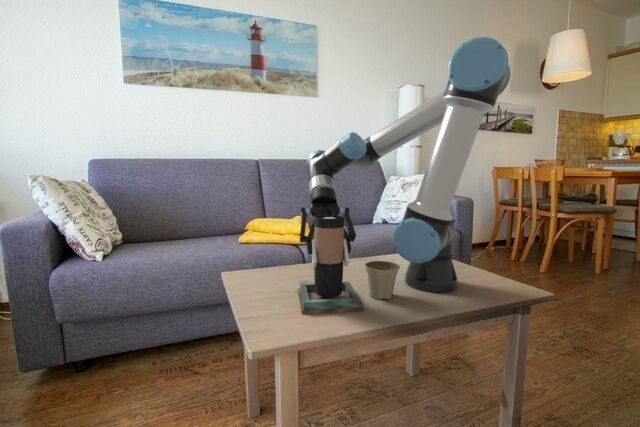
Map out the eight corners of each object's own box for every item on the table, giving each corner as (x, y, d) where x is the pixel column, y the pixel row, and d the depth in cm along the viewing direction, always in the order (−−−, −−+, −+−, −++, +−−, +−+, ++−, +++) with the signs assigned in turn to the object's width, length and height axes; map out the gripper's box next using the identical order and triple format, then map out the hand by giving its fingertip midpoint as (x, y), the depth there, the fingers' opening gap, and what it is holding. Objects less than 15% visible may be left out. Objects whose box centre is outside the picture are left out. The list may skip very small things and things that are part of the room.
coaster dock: (350, 289, 97) (350, 280, 97) (363, 311, 82) (363, 300, 82) (297, 291, 95) (297, 282, 95) (301, 313, 81) (301, 303, 80)
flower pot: (398, 291, 96) (399, 261, 95) (398, 303, 87) (400, 271, 86) (365, 288, 98) (366, 259, 97) (362, 300, 89) (363, 268, 88)
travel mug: (331, 299, 83) (333, 219, 81) (307, 292, 88) (308, 216, 85) (348, 291, 89) (350, 216, 87) (325, 285, 94) (326, 213, 91)
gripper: (354, 202, 102) (367, 270, 88) (287, 202, 100) (289, 272, 86) (359, 185, 96) (373, 255, 82) (287, 185, 94) (290, 257, 80)
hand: (330, 264), depth 84 cm, fingers closed on travel mug, 7 cm apart
